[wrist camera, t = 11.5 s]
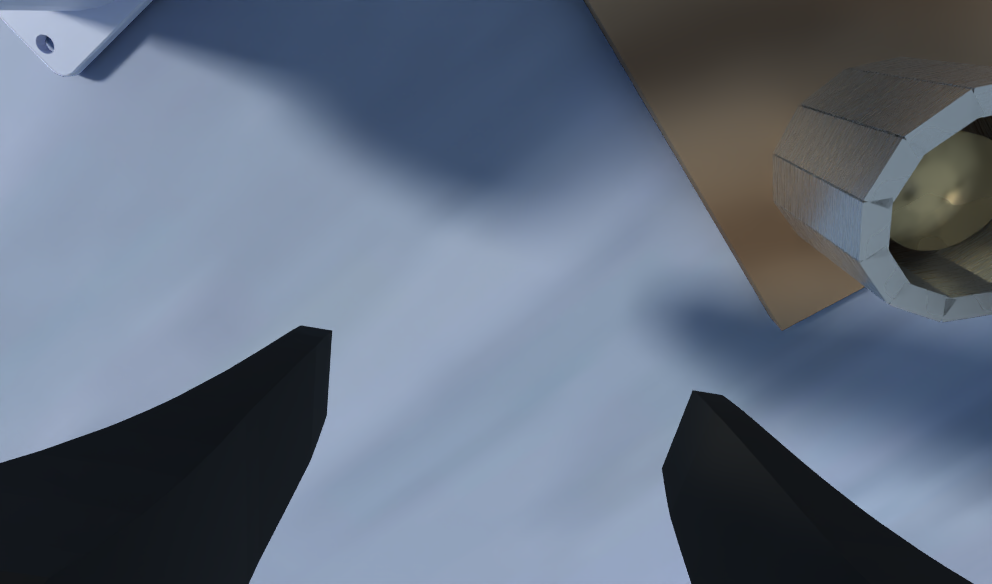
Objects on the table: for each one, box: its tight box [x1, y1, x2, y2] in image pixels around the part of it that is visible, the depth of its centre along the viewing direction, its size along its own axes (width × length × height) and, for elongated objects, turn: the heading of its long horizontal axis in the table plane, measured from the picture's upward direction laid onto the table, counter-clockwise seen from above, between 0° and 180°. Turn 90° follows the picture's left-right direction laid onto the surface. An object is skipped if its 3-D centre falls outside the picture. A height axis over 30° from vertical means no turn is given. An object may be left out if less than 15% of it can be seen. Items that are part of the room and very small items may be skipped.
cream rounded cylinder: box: [890, 130, 992, 251], centre depth 16 cm, size 3×3×4 cm
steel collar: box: [772, 57, 992, 322], centre depth 15 cm, size 6×6×5 cm
